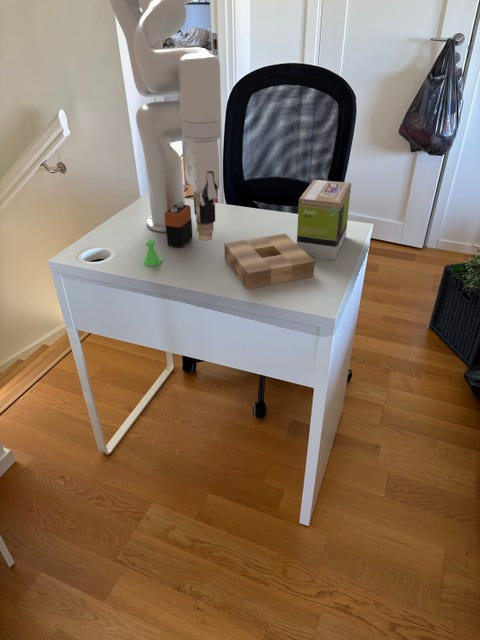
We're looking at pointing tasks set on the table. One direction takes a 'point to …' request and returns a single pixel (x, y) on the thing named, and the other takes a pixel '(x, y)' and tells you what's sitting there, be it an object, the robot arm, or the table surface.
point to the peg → (204, 228)
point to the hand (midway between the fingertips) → (204, 217)
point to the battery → (178, 225)
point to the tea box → (323, 218)
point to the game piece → (151, 255)
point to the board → (268, 260)
